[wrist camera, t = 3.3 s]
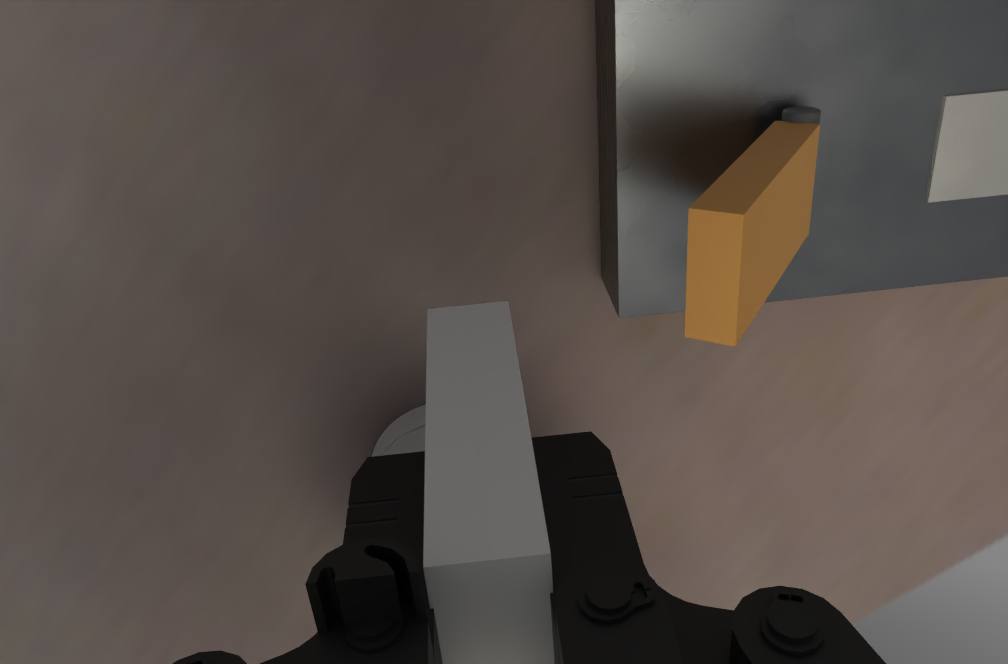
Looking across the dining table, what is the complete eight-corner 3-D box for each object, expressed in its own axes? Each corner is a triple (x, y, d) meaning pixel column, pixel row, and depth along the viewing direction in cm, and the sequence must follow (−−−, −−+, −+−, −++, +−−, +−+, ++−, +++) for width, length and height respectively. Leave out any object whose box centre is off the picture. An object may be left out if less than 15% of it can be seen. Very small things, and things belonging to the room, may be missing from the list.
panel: (601, 278, 30) (635, 355, 25) (589, -242, 22) (634, -270, 18) (1047, 231, 30) (1163, 298, 26) (1177, -290, 23) (1372, -331, 18)
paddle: (774, 223, 26) (684, 344, 20) (783, 105, 24) (688, 198, 18) (815, 228, 25) (734, 354, 20) (828, 107, 24) (744, 205, 18)
